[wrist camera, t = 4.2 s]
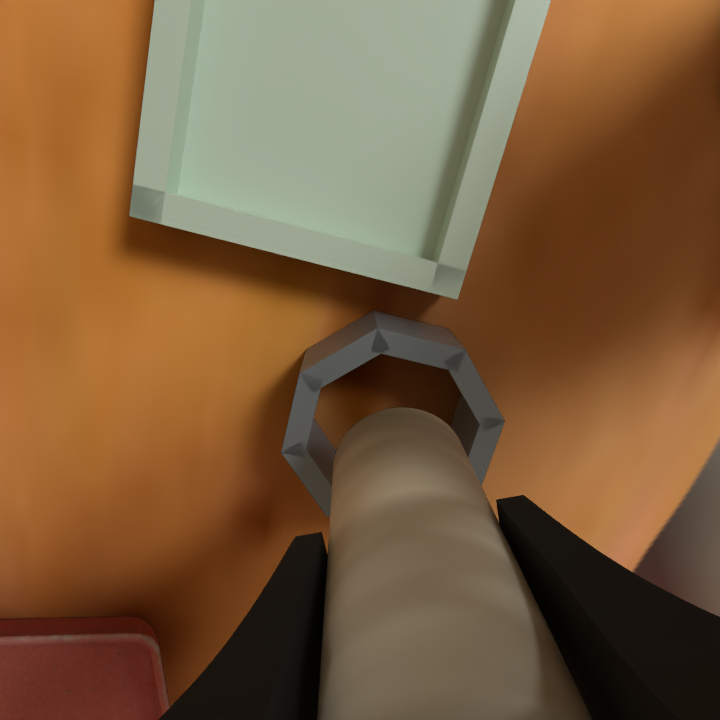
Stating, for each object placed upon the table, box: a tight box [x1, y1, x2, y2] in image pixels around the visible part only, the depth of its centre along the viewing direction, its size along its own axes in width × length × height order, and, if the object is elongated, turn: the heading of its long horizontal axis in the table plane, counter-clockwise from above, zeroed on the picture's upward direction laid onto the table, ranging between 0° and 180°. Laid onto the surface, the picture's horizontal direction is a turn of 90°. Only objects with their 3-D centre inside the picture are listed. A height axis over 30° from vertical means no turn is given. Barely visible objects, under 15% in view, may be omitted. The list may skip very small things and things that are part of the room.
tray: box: [129, 0, 551, 300], centre depth 16 cm, size 11×12×2 cm
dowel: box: [317, 407, 592, 720], centre depth 11 cm, size 4×4×9 cm
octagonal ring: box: [281, 310, 505, 517], centre depth 19 cm, size 7×7×3 cm
